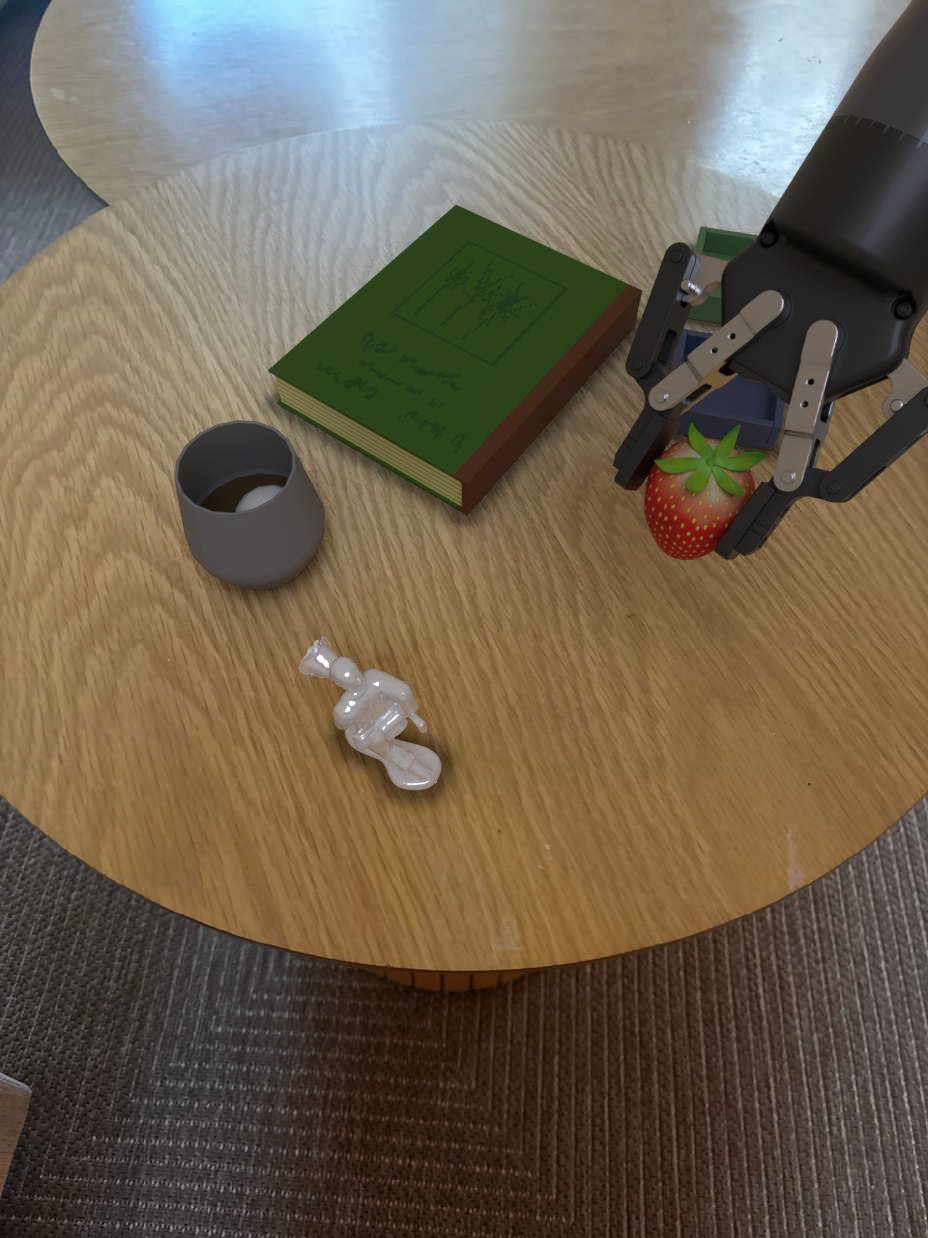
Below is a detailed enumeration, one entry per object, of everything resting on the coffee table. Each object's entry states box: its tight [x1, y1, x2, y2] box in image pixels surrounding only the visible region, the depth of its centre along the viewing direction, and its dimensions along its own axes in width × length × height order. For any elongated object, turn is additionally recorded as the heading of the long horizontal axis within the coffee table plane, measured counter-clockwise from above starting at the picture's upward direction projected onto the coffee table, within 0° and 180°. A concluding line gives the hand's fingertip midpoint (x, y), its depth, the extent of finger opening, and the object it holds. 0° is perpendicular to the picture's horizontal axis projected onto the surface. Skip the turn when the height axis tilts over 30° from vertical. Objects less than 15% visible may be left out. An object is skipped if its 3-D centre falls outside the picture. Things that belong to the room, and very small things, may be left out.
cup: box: [173, 419, 326, 591], centre depth 59 cm, size 10×9×10 cm
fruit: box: [643, 423, 767, 561], centre depth 42 cm, size 5×5×8 cm
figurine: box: [297, 635, 443, 791], centre depth 51 cm, size 5×9×12 cm, turn 63°
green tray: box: [687, 225, 759, 324], centre depth 76 cm, size 9×9×3 cm
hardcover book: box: [268, 204, 643, 516], centre depth 71 cm, size 25×19×4 cm
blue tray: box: [669, 328, 785, 452], centre depth 70 cm, size 9×9×3 cm
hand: (674, 519), depth 41 cm, fingers closed on fruit, 5 cm apart
